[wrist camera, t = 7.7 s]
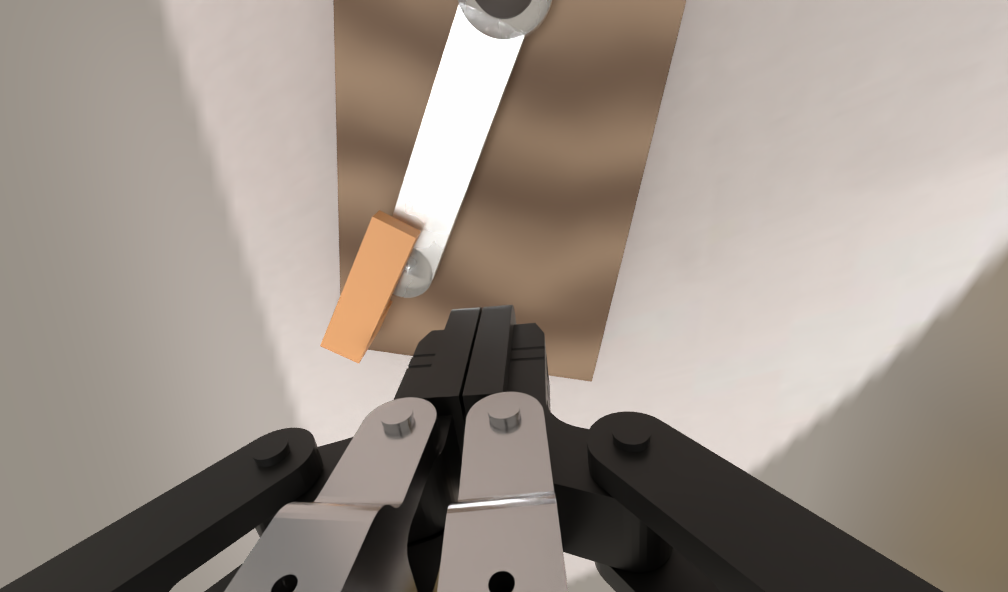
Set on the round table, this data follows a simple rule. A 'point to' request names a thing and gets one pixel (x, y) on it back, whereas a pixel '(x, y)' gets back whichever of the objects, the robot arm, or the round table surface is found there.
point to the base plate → (509, 160)
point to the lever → (457, 130)
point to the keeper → (370, 286)
